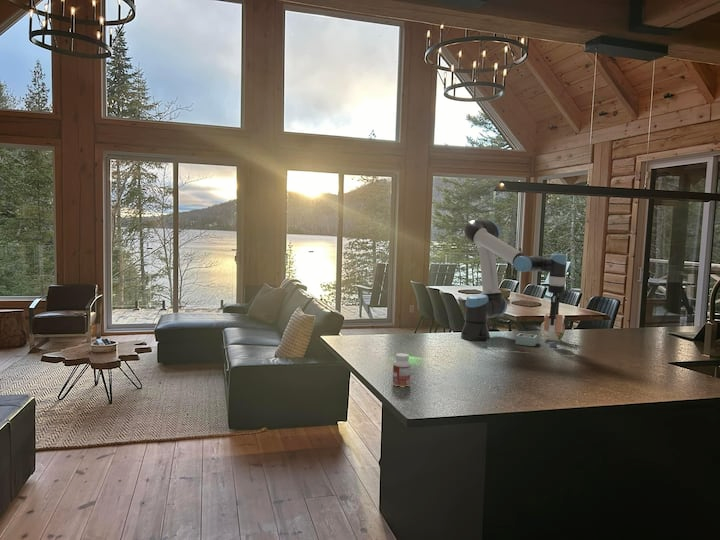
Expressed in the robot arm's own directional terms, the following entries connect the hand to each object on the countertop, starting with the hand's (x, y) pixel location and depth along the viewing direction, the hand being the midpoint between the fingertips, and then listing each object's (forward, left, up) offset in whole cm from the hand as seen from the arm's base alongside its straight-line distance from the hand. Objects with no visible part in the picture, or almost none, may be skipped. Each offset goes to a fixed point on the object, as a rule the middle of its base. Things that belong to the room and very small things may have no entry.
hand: (552, 330), depth 263 cm
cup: (0, 0, 0) cm, 0 cm away
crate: (-12, +1, -9) cm, 16 cm away
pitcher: (-2, +21, -9) cm, 23 cm away
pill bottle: (-38, -104, -9) cm, 112 cm away
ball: (+1, 0, -9) cm, 9 cm away
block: (-12, +1, -8) cm, 15 cm away
